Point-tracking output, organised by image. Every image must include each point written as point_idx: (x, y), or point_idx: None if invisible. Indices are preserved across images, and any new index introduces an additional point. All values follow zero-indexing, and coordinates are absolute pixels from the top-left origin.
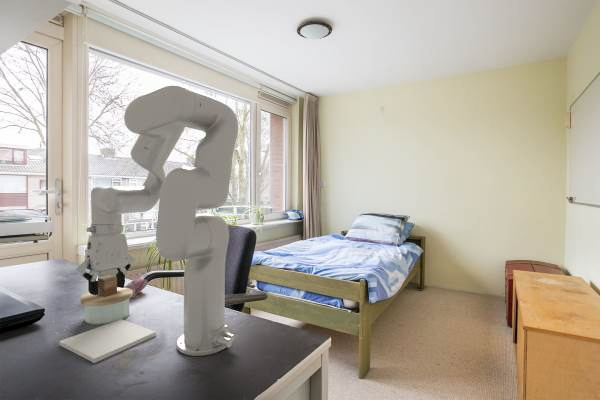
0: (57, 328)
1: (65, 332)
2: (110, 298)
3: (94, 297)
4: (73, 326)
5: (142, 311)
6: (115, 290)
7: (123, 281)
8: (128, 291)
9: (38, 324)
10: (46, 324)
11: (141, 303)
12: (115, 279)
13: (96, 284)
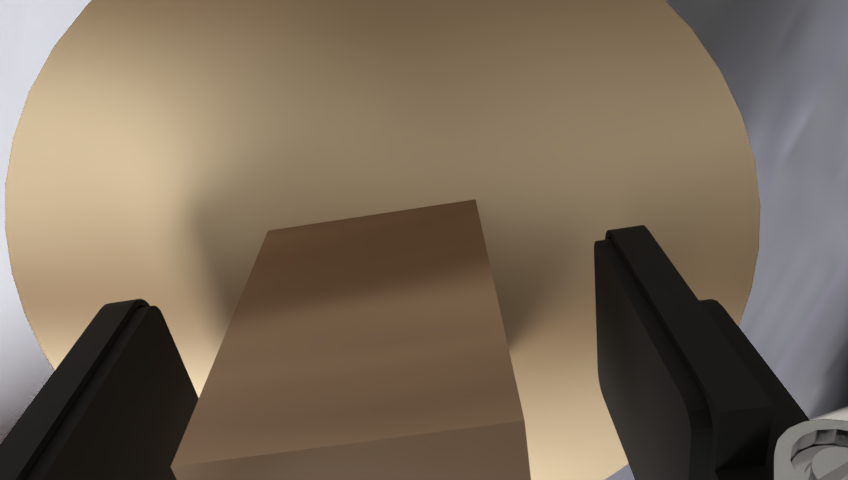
0: (808, 210)
1: (834, 54)
2: (440, 55)
3: (581, 292)
4: None
5: (44, 18)
6: (282, 259)
7: (67, 378)
8: (77, 208)
9: (824, 391)
10: (797, 354)
11: (9, 268)
12: (228, 412)
13: (715, 344)
